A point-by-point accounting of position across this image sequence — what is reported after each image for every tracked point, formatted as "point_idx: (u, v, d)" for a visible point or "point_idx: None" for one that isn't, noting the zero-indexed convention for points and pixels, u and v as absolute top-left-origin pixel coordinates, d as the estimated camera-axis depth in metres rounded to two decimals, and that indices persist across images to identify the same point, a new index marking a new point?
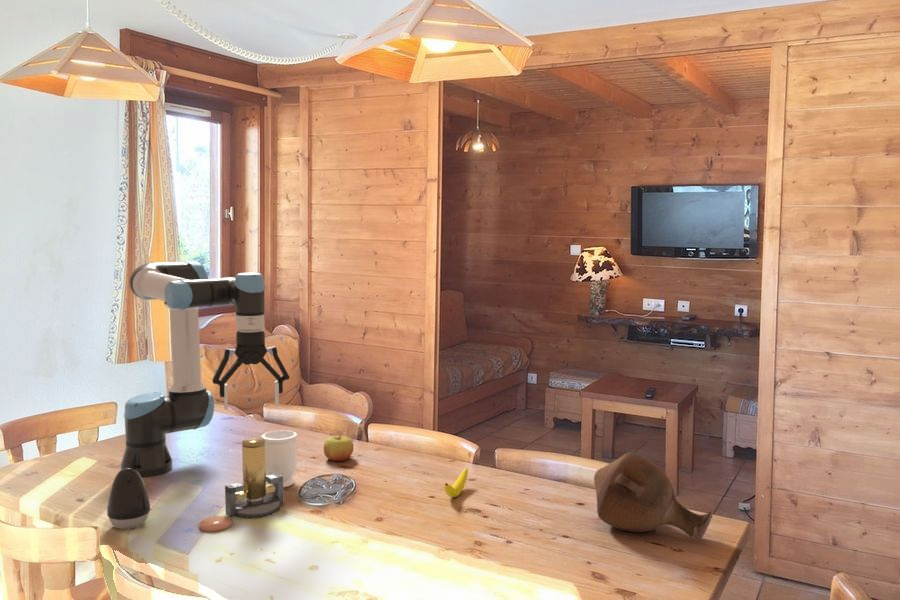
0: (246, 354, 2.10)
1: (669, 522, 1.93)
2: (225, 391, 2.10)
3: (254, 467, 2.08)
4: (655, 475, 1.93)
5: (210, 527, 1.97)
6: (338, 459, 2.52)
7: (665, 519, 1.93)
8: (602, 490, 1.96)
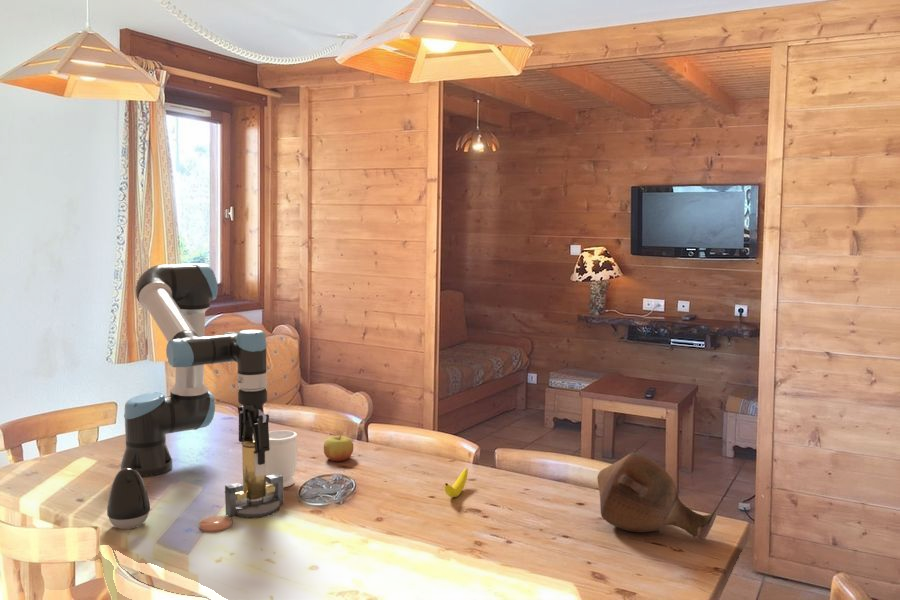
0: (244, 411, 2.09)
1: (672, 522, 1.93)
2: None
3: (254, 467, 2.08)
4: (659, 475, 1.93)
5: (210, 527, 1.97)
6: (338, 459, 2.52)
7: (669, 520, 1.92)
8: (605, 491, 1.95)
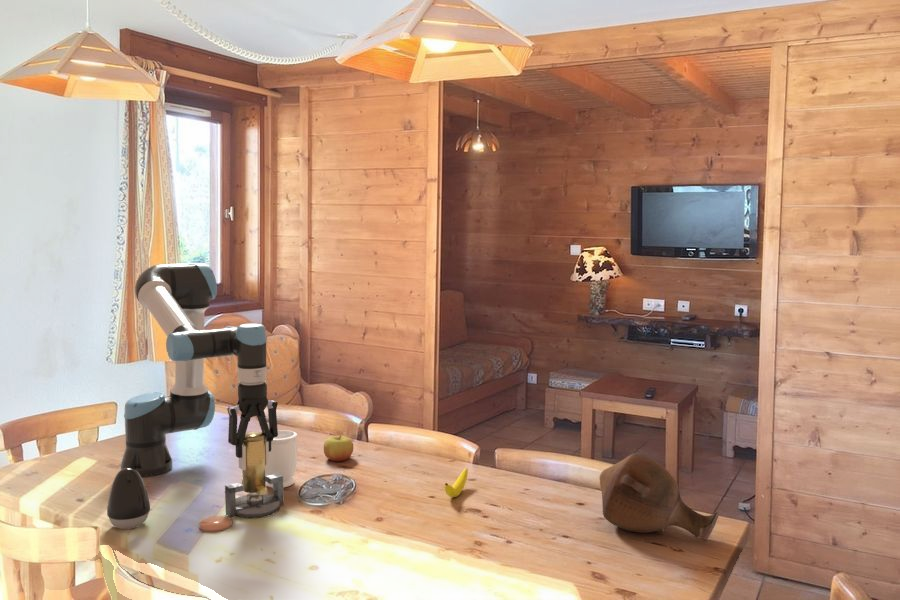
0: (251, 407, 2.07)
1: (675, 523, 1.93)
2: (243, 451, 2.07)
3: None
4: (661, 475, 1.93)
5: (210, 527, 1.97)
6: (338, 459, 2.52)
7: (671, 520, 1.92)
8: (607, 491, 1.95)
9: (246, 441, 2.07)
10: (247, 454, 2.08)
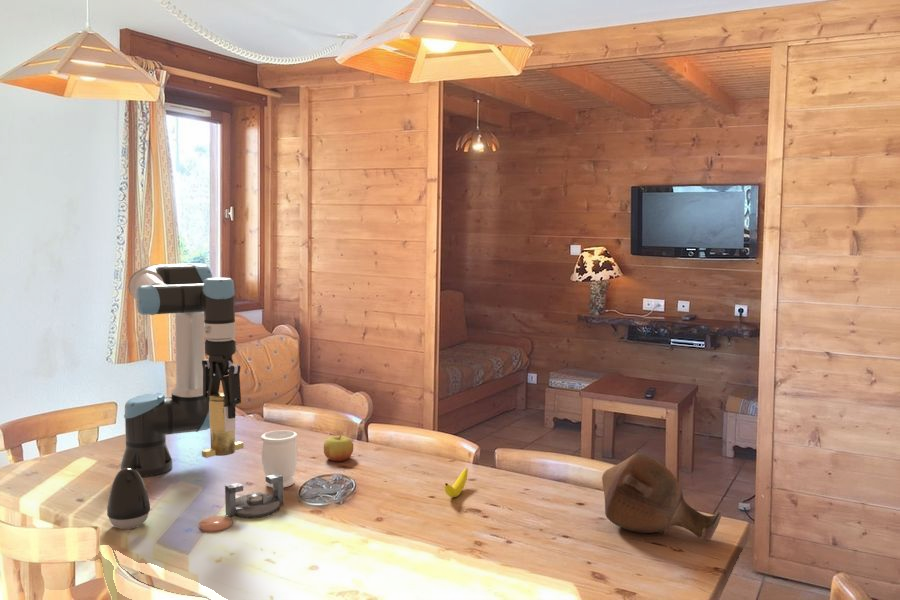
0: (211, 363, 1.98)
1: (677, 523, 1.92)
2: (209, 407, 2.01)
3: (223, 422, 1.98)
4: (664, 475, 1.93)
5: (210, 527, 1.97)
6: (338, 459, 2.52)
7: (673, 520, 1.92)
8: (610, 491, 1.95)
9: None
10: None
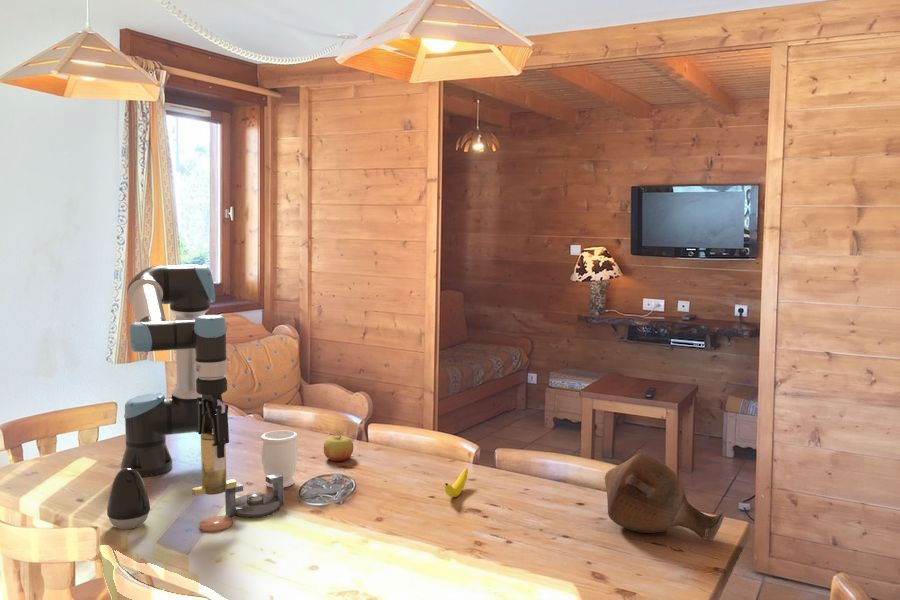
0: (202, 401, 1.97)
1: (680, 523, 1.92)
2: None
3: (212, 461, 1.96)
4: (666, 476, 1.93)
5: (210, 527, 1.97)
6: (338, 459, 2.52)
7: (676, 521, 1.92)
8: (612, 491, 1.95)
9: None
10: None
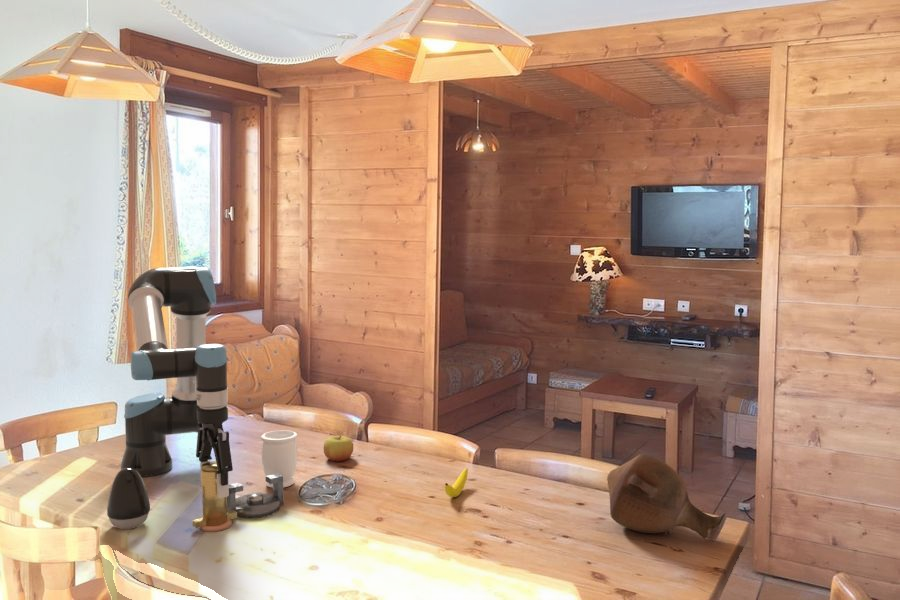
0: (203, 430, 1.98)
1: (682, 524, 1.92)
2: (200, 468, 2.02)
3: (213, 493, 1.97)
4: (669, 476, 1.92)
5: (210, 527, 1.97)
6: (338, 459, 2.52)
7: (679, 521, 1.92)
8: (615, 491, 1.95)
9: None
10: None
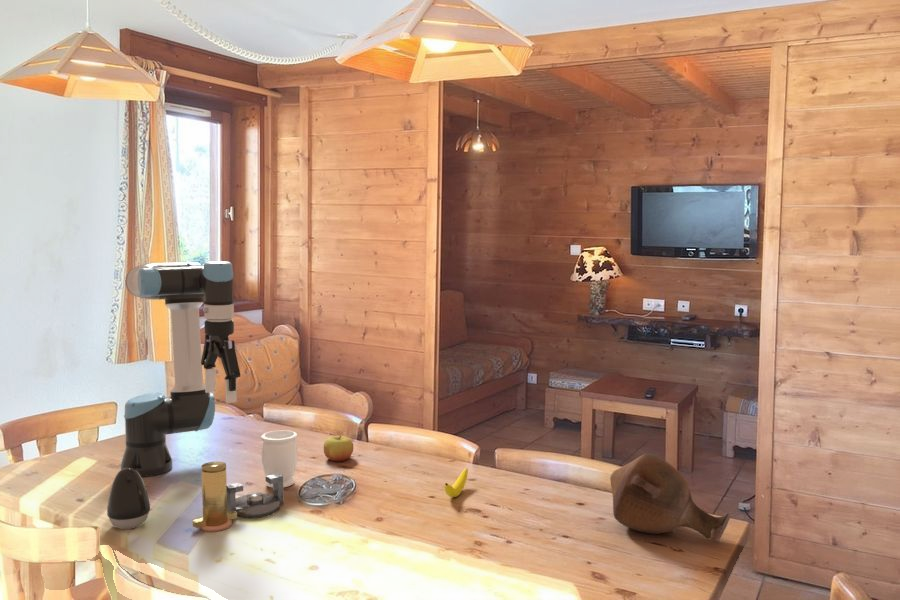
0: (210, 342, 2.09)
1: (686, 524, 1.92)
2: (205, 374, 2.15)
3: (213, 493, 1.97)
4: (672, 476, 1.92)
5: (210, 527, 1.97)
6: (338, 459, 2.52)
7: (682, 521, 1.91)
8: (618, 491, 1.95)
9: None
10: None
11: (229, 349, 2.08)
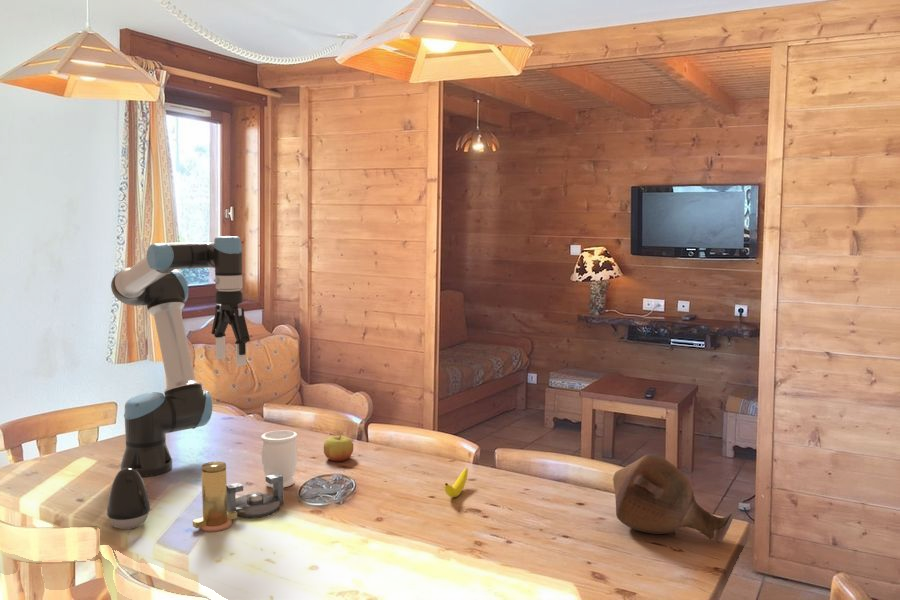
0: (221, 311, 2.26)
1: (688, 524, 1.92)
2: (216, 342, 2.31)
3: (213, 493, 1.97)
4: (675, 477, 1.92)
5: (210, 527, 1.97)
6: (338, 459, 2.52)
7: (684, 522, 1.91)
8: (620, 492, 1.95)
9: None
10: None
11: (239, 317, 2.24)
